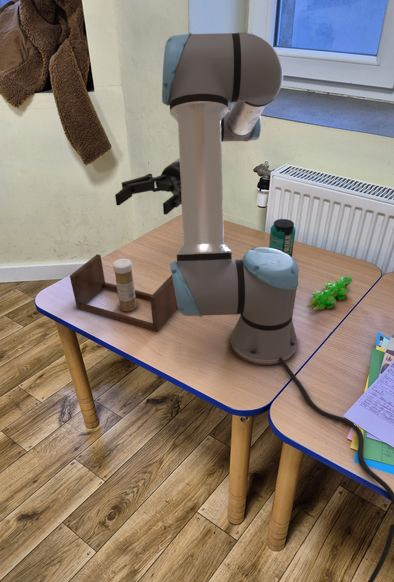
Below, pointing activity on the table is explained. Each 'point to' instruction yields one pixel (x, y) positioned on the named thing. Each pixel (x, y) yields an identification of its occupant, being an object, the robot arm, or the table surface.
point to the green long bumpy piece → (331, 293)
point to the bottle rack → (92, 282)
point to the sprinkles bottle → (125, 284)
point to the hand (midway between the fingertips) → (140, 204)
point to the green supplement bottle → (282, 236)
